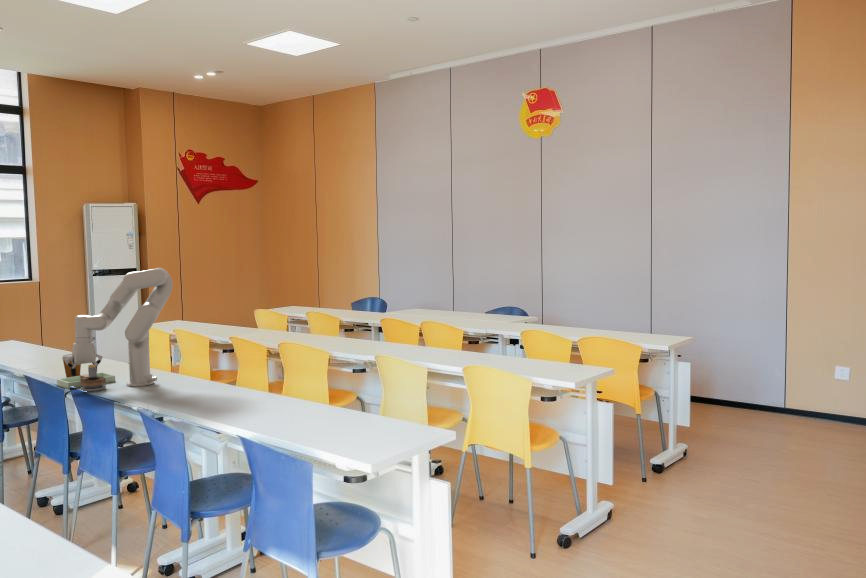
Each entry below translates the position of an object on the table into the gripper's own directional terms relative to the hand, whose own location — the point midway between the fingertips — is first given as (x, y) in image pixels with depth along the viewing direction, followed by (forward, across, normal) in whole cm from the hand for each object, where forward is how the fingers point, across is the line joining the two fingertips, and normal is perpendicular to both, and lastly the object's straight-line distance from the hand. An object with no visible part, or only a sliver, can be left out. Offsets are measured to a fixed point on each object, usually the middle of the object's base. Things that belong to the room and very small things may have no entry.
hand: (84, 375), depth 339 cm
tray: (+6, -5, -10) cm, 13 cm away
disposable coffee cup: (+7, -7, -32) cm, 33 cm away
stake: (+6, -1, +9) cm, 11 cm away
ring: (+3, -1, +5) cm, 6 cm away
